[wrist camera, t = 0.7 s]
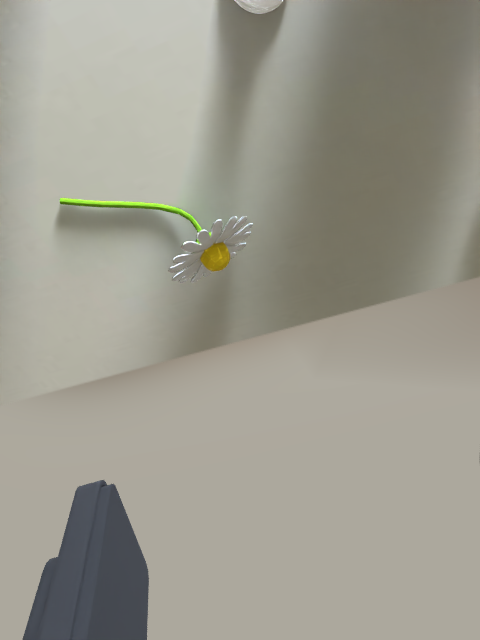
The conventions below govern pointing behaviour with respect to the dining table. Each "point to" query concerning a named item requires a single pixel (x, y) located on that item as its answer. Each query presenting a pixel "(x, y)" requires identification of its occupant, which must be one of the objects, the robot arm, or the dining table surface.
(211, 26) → the dining table surface
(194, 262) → the decorative flower
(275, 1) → the chess piece
